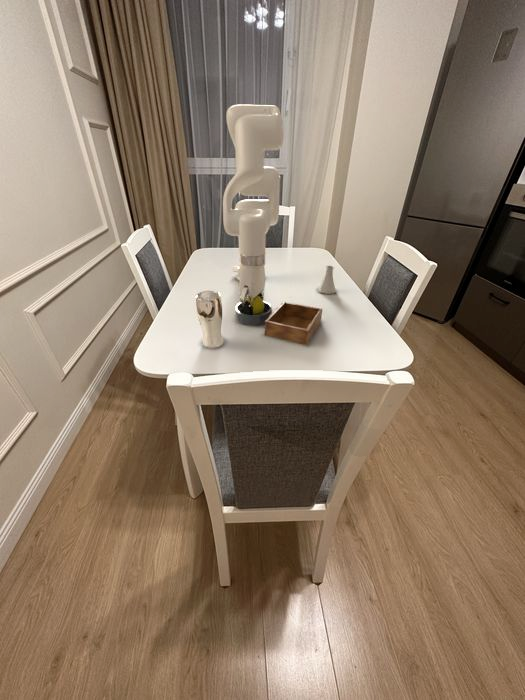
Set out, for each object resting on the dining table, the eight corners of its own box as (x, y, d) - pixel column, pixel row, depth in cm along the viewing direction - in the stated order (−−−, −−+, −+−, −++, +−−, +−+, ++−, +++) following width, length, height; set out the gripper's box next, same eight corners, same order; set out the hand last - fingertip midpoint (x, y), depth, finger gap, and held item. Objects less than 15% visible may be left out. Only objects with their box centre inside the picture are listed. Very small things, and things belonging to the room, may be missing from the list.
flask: (335, 295, 114) (339, 270, 108) (317, 293, 115) (320, 269, 109) (335, 288, 120) (339, 264, 114) (318, 286, 121) (320, 263, 115)
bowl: (229, 322, 95) (228, 311, 93) (246, 307, 104) (245, 297, 102) (262, 330, 91) (262, 318, 89) (277, 314, 100) (277, 303, 98)
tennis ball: (240, 312, 99) (239, 293, 95) (259, 308, 101) (259, 290, 97) (247, 321, 93) (247, 301, 89) (267, 317, 96) (267, 298, 92)
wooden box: (264, 335, 88) (264, 321, 85) (282, 314, 100) (283, 301, 97) (306, 345, 83) (308, 331, 81) (320, 322, 95) (322, 308, 92)
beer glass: (202, 336, 87) (196, 290, 79) (225, 335, 88) (221, 289, 79) (200, 349, 81) (193, 301, 73) (224, 348, 82) (220, 300, 73)
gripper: (254, 250, 94) (254, 299, 104) (227, 265, 81) (231, 320, 91) (275, 253, 91) (273, 303, 102) (251, 269, 78) (252, 325, 89)
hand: (253, 311), depth 96 cm, fingers closed on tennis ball, 7 cm apart
